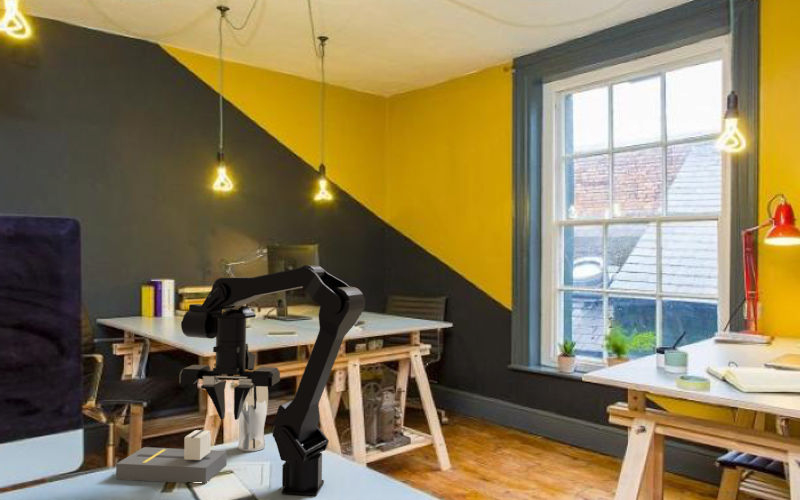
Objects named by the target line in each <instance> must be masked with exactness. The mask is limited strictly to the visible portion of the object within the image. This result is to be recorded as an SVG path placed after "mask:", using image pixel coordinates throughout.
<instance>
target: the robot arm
mask: <svg viewBox="0 0 800 500" xmlns="http://www.w3.org/2000/svg"><path fill="white" fill-rule="evenodd" d="M213 282H214V283H213V285H212V288H211V290H210V291H209V293H208V295H207V296H206V298H205V300H204V301H203V303H202V304H200V303H191V304H189V307H188V310H187V311H186V312H185V314H184V315H183V318H182V320H181V321H180V326H181V332H182V334H184V336H185V337H188V338H196V339H208V340H209V339H210V340H211V339H215V346H212V347H213V348H212V352H213V353H215V366H214V367H212V369H211V367H210V365H208V364H192V365H190V366H189V365H188V366H186V367H184V368H182V369H181V370H180V372H179V377H178V378H179V380H178V382H179V384H181V385H182V384H183V385H184V384H185V385H186V384H187V385H194V384H196V383H197V382H198V381H199V380H202V385H200V388H201V389H203V390H205V392H207V395H208V396H209V398H210V399H211V401H212V404H213V406H214V408H215V410H216V413H217V414H218V417H219V419H220V420H223V419H225V416H226V415H225V414H226V399H225V395H226V394H225V388H226V385H227V381H239V385H238V384H237V385H236V386H234V387H233V389H234V390H233V416H234V420H235V421H237V420H238V418H239V416H240V413H241V410H242V407H243V405H244V402H245V399H246V397H247V395H248V393H249V391H250V389H252V388H253V387H255V386H264V387H273V386H274V385H275V384H278V383H279V382H281V372H280V370H279V368H278V367H275V366H274V367H273V366H272V367H271V366H269V367H268V366H260V367H258V368H256V369H255V366H256V365H255V363H256V357H257V356H256V354H254V353H253V352H250V351H249V344H248V343H247V319H253V318H255V317H256V316H257V314H256V313H255V312H254V311H252V310H251V308H250V307H249V305H247V304H248V303H252V302H254V301H256V300H258V299H259V298H261V297H264V296H267V295H272V294H276V293H281V292H285V291H291V290H298V289H305V290H306V292H307V293H308V295H309V296H310V298H311V299H312V300H313V301H314V302H315V303H316V304H317V305H318V306H319V309H318V310H319V311H318V323H319V324H318V325H319V326H318V327H319V330H318V333H317V336H316V339H315V342H314V344H313V347H312V350H311V353H310V355H309V357H308V360H307V363H306V365H305V369H304V371H303V374H302V376H301V379H300V381H299V385H298V387H297V390H296V393H295V394H294V397H293V399H292V400H290V401H287V402H285V403H282V404H280V405H279V406H278V408H277V411H276V415H275V418H274V419H273V421H272V423H271V426H273V428H272V438H274V439H273V440H274V442H275V443H276V446H277V447H276V448H277V450H278V454H279V457H280V460H281V461H283V464H282V469H281V471H282V475H281V476H282V477H281V479H282V480H281V481H282V482H281V485H282V487H283V489H282V490H281V494H284V495H297V496H317V495H318V494H319V492H320V491H321V489H322V488H323V485H324V483H325V480H324V479H323V453H322V452H325V451H326V450H327V447H328V445H329V438H327V436H326V435H325V433H324V432H323V431H322V430H321V429H320V427H319V424H320V423H319V422H320V416H321V415H320V406H319V404H320V401H321V398H322V395H323V394H324V390H325V388H326V386H327V382H328V380H329V377H330V375H331V372H332V369H333V367H334V364H335V362H336V359H337V356H338V354H339V351H340V349H341V346H342V343H343V341H344V338H345V337H346V335H347V334H348V332H350V331H351V329H352V328H353V327H354V326H355V325H356V324H357V321H358V319H360V317H361V315H362V313H363V311H364V310H365V307H366V299H365V297H364V294H363V292H362V291H361V290H360V289H359V288H357V287H354V286H350V285H348V284H347V283H346V281H345V282H344V281H343V280H341V279H339V278H338V277H336V276H334V275H332V274H331V273H329V272H328V271H326V270H325V269H324V268H323V267H321V266H320V265H314V264H313V265H312V264H309V265H307V264H305V265H302V266H300V267H297V268H291V269H286V270H283V271H282V270H281V271H278V272H273V273H267V274H263V275H258V276H234V277H232V276H230V277H226V276H225V277H218V278H216V279H215V280H214V281H213ZM237 307H238V309H237Z"/></svg>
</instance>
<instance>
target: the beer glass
mask: <svg viewBox="0 0 800 500" xmlns="http://www.w3.org/2000/svg"><path fill="white" fill-rule="evenodd" d="M238 385H239V380H237V386H238ZM268 407H269V389H268V387H264V386H255V387H253V388H252V389H250V391H249V393H248V395H247V397H246V399H245V402H244V405H243V407H242V410H241V413H240V416H239V418H238V419H237V420H238V425H239V440H238V443H237V444H238V445H237V449H238V450H239V451H241V452H245V453H246V452H248V453H249V452H251V453H252V452H258V451H260V450H264V449H265V448H266V442H265V441H266V440H265V425H266V424H265V423H266V418H267V413H268Z"/></svg>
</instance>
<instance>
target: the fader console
mask: <svg viewBox="0 0 800 500" xmlns="http://www.w3.org/2000/svg"><path fill="white" fill-rule="evenodd" d="M227 460H228V451H227V450H217V449H216V450H213V449H210V453H208V454H207V455H206V456H205V457H203V458H202V459H201V460H188V459H184V448H171V447H169V448H167V447H149V446H144V447H142V448H140V449H139V450H137V451H135V452H133V453H132V454H131V455H128V456H126V457H125V458H123V459H122V460H119V462H117V463H115V464H116V465H115V467H116V468H115V469H116V471H115V479H116V480H122V481H123V480H124V481H125V480H127V481H128V480H129V481H146V482H165V483H167V482H168V483H181V484H182V483H183V484H188V483H187V482H202V483H206V482H207V481H208V482H210V481H211V480H210V479H211V478H212V477H213V476H214V475H215V476H217V475H218V474H219V473H220V472H221V471H222V470H223V469H225V467H227V466H226V465H228V464H227V463H228V462H227ZM218 472H219V473H218ZM215 476H214V477H215ZM214 477H213V478H214ZM213 478H212V479H213ZM208 482H207V483H208ZM207 483H206V484H207Z"/></svg>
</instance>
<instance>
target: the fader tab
mask: <svg viewBox="0 0 800 500" xmlns="http://www.w3.org/2000/svg"><path fill="white" fill-rule="evenodd" d="M211 435H212V431H211V430H205V429H200V430H199V429H196V430H193V431H192V432H191V433H189V434H187V435H186V436H185V437H184V446H183V449H184V459H188V460H201V459H202V458H203V457H205V456H206V455H207V454H208V453H210V450H211V445H212V444H211V442H212V441H211Z"/></svg>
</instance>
